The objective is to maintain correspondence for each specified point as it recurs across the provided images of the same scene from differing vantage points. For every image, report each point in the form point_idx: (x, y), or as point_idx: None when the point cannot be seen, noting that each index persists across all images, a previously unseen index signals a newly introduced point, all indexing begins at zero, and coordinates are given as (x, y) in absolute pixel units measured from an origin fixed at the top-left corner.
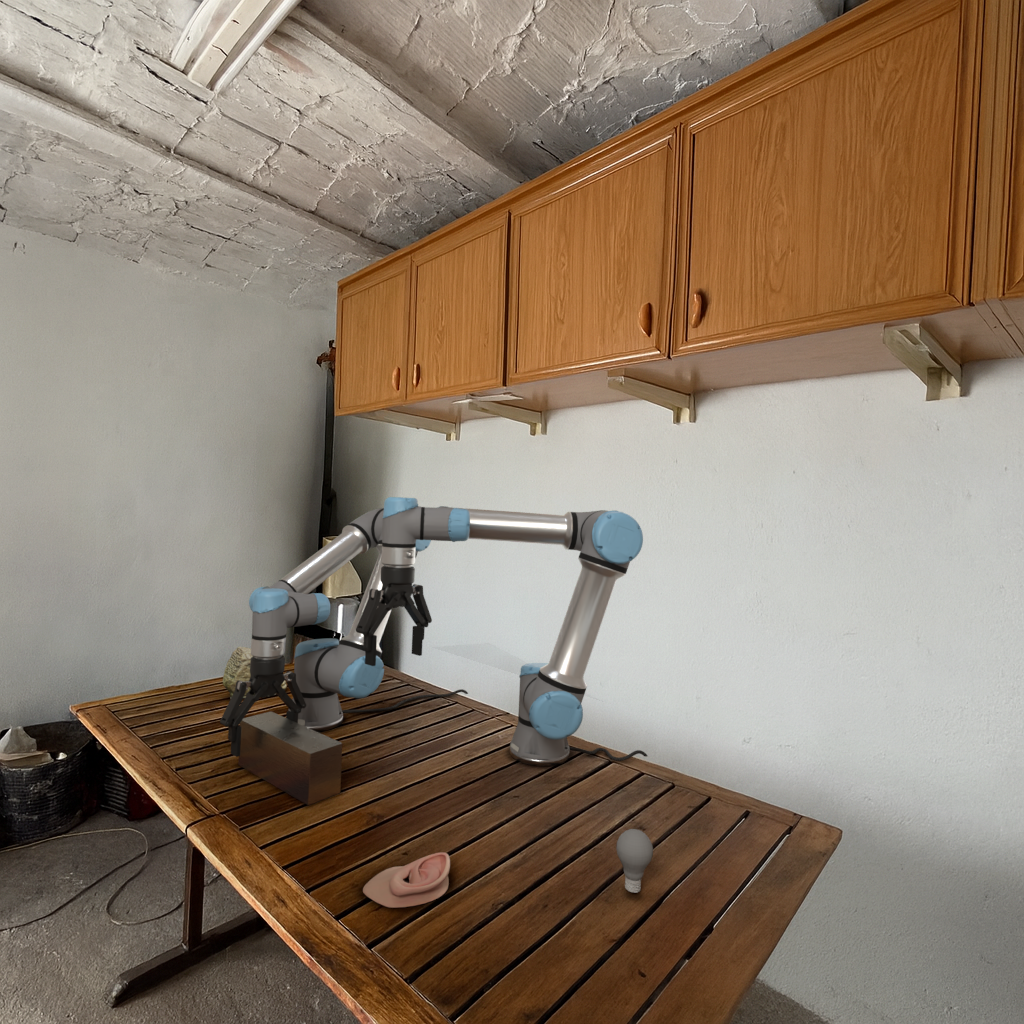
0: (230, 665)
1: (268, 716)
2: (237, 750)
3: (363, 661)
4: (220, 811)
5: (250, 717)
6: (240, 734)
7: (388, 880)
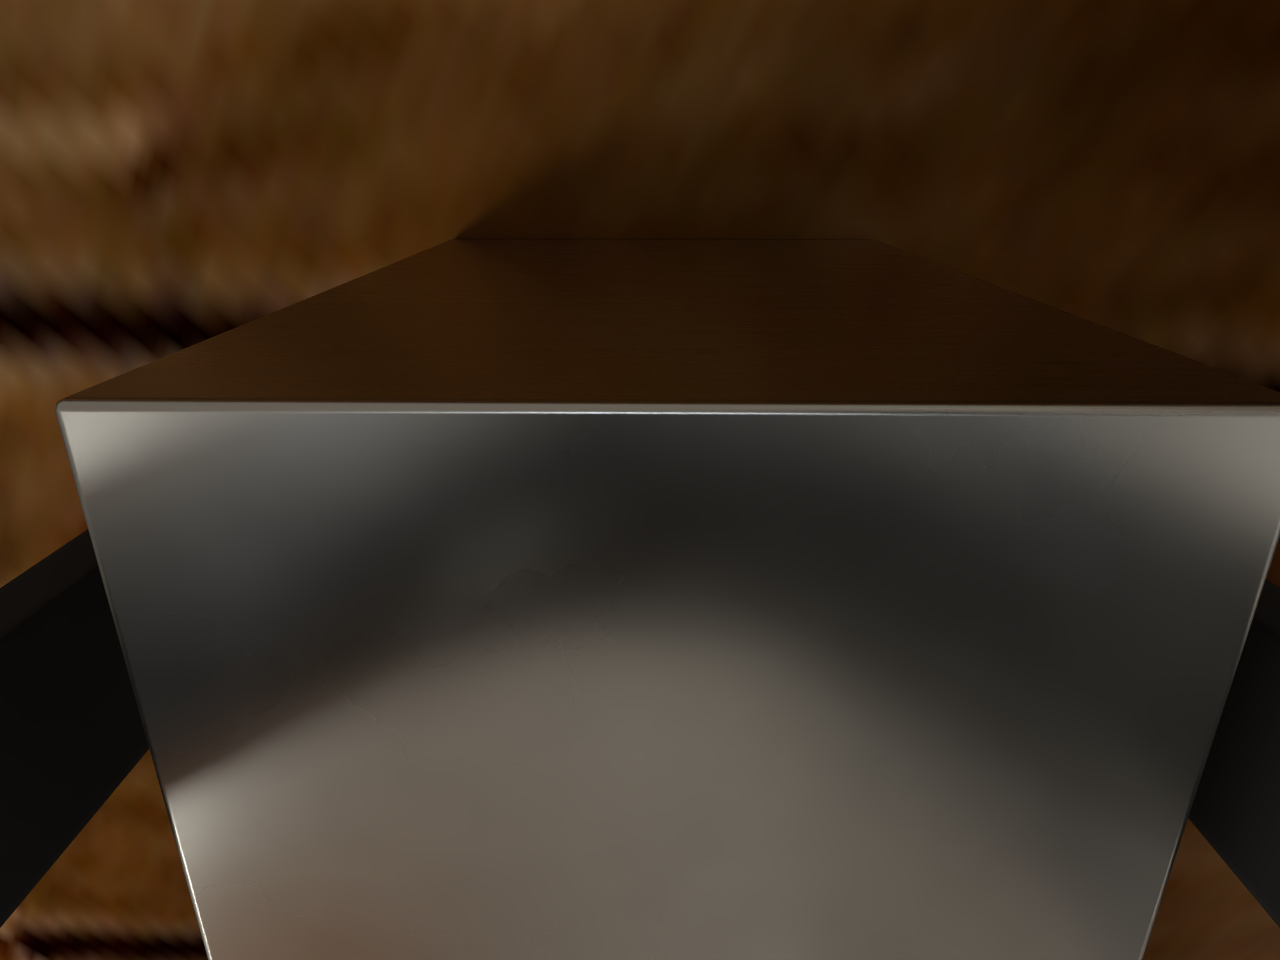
0: None
1: (883, 779)
2: None
3: None
4: (25, 923)
5: (421, 492)
6: (13, 896)
7: None
